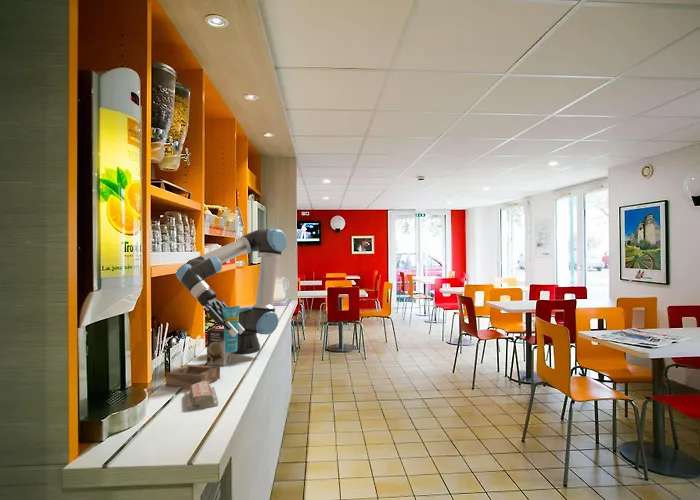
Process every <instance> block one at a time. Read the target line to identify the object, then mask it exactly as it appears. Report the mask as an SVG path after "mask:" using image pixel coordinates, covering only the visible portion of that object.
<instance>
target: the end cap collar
mask: <svg viewBox="0 0 700 500" xmlns="http://www.w3.org/2000/svg"><path fill="white" fill-rule="evenodd" d="M218 379H219V380H220V379H221V366H218V365H203V364H202V365H201V364H185V365H183V366H181V367H179V368H176V369H173V370H171V371H169V372H166V374H165V387H166V388H167V387H168V388H177V387H181V388H180V389H189V390H190V386H191V385H193V384H196V383H199V382H201V381H208V382H209V384H210V385H212V384H213V383H215V382H217V381H218ZM211 383H212V384H211Z"/></svg>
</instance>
